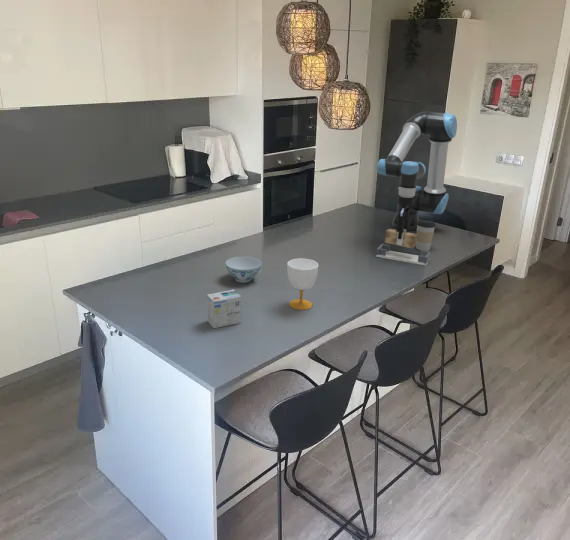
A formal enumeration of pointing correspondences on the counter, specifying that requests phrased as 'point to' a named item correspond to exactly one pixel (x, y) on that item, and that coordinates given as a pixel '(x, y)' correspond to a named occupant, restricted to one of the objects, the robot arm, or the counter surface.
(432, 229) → the coffee cup
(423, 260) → the holder
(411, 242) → the tan rectangular block
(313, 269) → the cup
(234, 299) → the light bulb box
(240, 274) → the chinaware
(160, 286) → the counter surface
